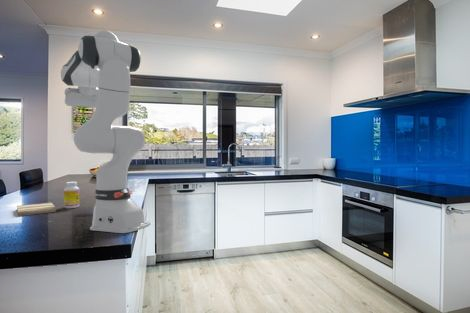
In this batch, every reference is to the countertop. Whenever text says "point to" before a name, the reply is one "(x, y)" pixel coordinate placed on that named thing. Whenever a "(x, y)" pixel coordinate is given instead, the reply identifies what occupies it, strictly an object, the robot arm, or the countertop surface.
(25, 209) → the birch board
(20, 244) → the countertop surface
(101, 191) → the robot arm
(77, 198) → the supplement bottle
